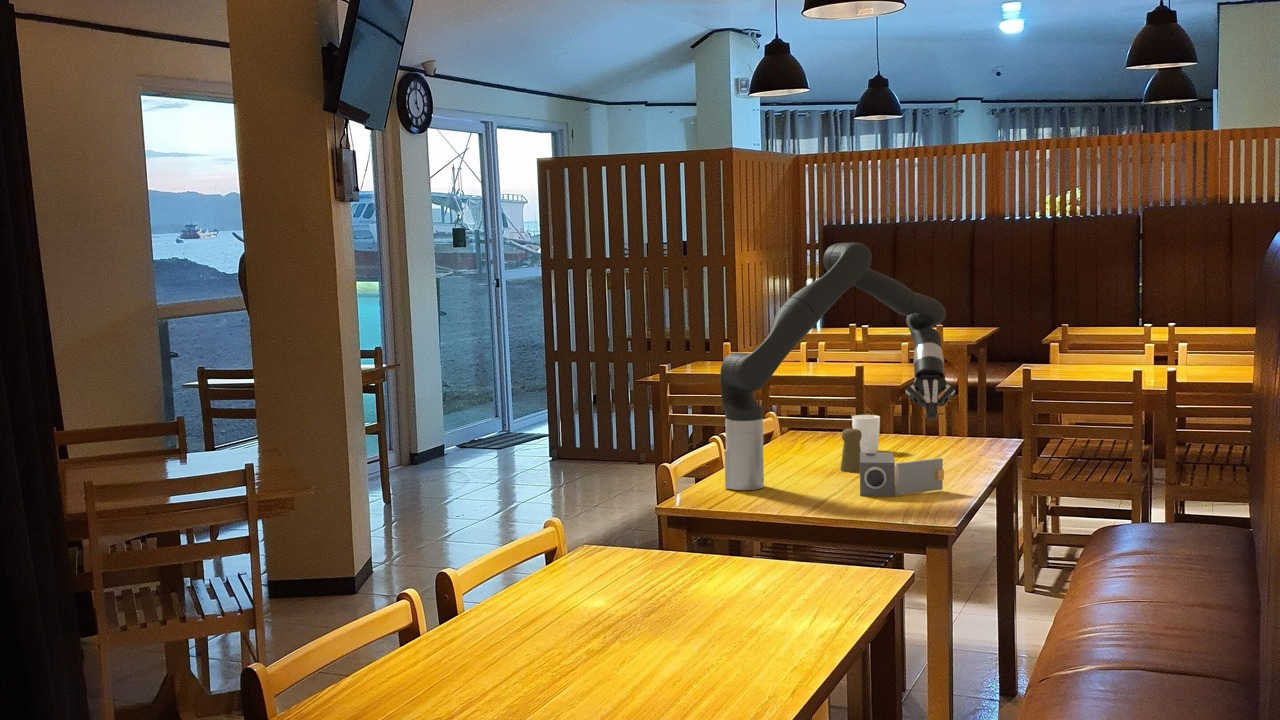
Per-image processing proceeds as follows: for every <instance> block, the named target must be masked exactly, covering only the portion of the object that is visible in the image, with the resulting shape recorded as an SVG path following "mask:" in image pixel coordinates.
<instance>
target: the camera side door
mask: <svg viewBox="0 0 1280 720" xmlns="http://www.w3.org/2000/svg"><path fill="white" fill-rule="evenodd" d="M943 466H944V462H943V457H940V458H938V457H936V458H930V459H920V460H914V461H912V460H911V461H906V462H904V461H903V462H897V463H895V496H902V495H903V496H904V495H905V496H906V495H911V494H918V493H926V492H934V491H942V490H943V483H944V482H943V481H944V480H945V479H944V478H945V470H944V468H943Z"/></svg>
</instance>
